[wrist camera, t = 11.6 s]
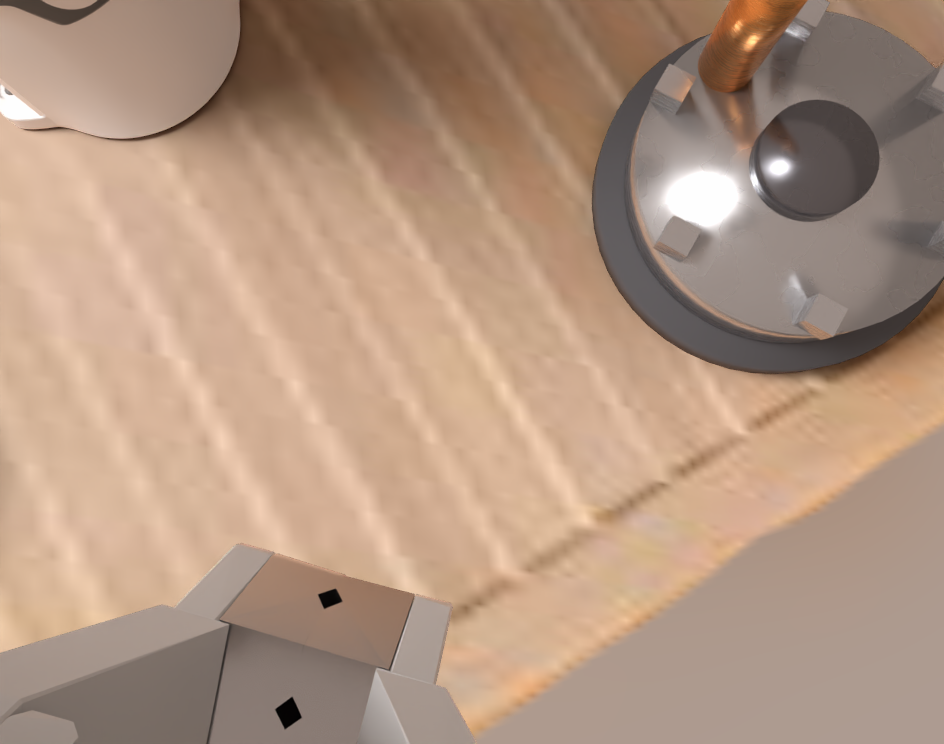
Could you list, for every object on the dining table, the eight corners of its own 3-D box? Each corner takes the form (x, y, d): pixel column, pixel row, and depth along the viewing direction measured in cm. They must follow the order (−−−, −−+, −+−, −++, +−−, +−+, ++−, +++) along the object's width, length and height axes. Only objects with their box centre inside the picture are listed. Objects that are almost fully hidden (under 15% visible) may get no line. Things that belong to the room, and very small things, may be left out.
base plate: (522, 179, 39) (524, 166, 37) (779, -21, 40) (793, -43, 38) (747, 445, 37) (760, 446, 35) (1013, 227, 38) (1039, 217, 36)
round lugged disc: (714, -8, 38) (831, -239, 25) (992, 133, 37) (1267, -35, 24) (567, 245, 36) (610, 138, 24) (850, 402, 35) (1060, 379, 22)
